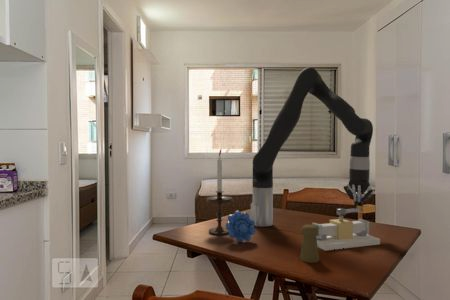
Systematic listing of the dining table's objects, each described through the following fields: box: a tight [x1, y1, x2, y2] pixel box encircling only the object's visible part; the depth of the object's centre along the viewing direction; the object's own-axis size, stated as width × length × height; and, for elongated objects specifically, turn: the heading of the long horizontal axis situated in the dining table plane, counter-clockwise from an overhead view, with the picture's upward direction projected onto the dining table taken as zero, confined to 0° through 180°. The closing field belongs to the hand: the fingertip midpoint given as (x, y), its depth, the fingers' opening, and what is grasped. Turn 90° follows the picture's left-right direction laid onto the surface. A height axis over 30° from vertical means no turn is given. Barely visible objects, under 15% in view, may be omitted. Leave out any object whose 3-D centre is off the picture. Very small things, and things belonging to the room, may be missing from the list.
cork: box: [299, 224, 320, 263], centre depth 112 cm, size 6×6×11 cm
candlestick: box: [206, 149, 233, 236], centre depth 145 cm, size 11×11×35 cm
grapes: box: [225, 210, 256, 243], centre depth 130 cm, size 12×7×12 cm, turn 104°
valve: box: [311, 215, 381, 252], centre depth 132 cm, size 24×14×10 cm, turn 109°
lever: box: [336, 203, 377, 216], centre depth 135 cm, size 3×19×2 cm, turn 117°
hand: (358, 210), depth 141 cm, fingers closed
